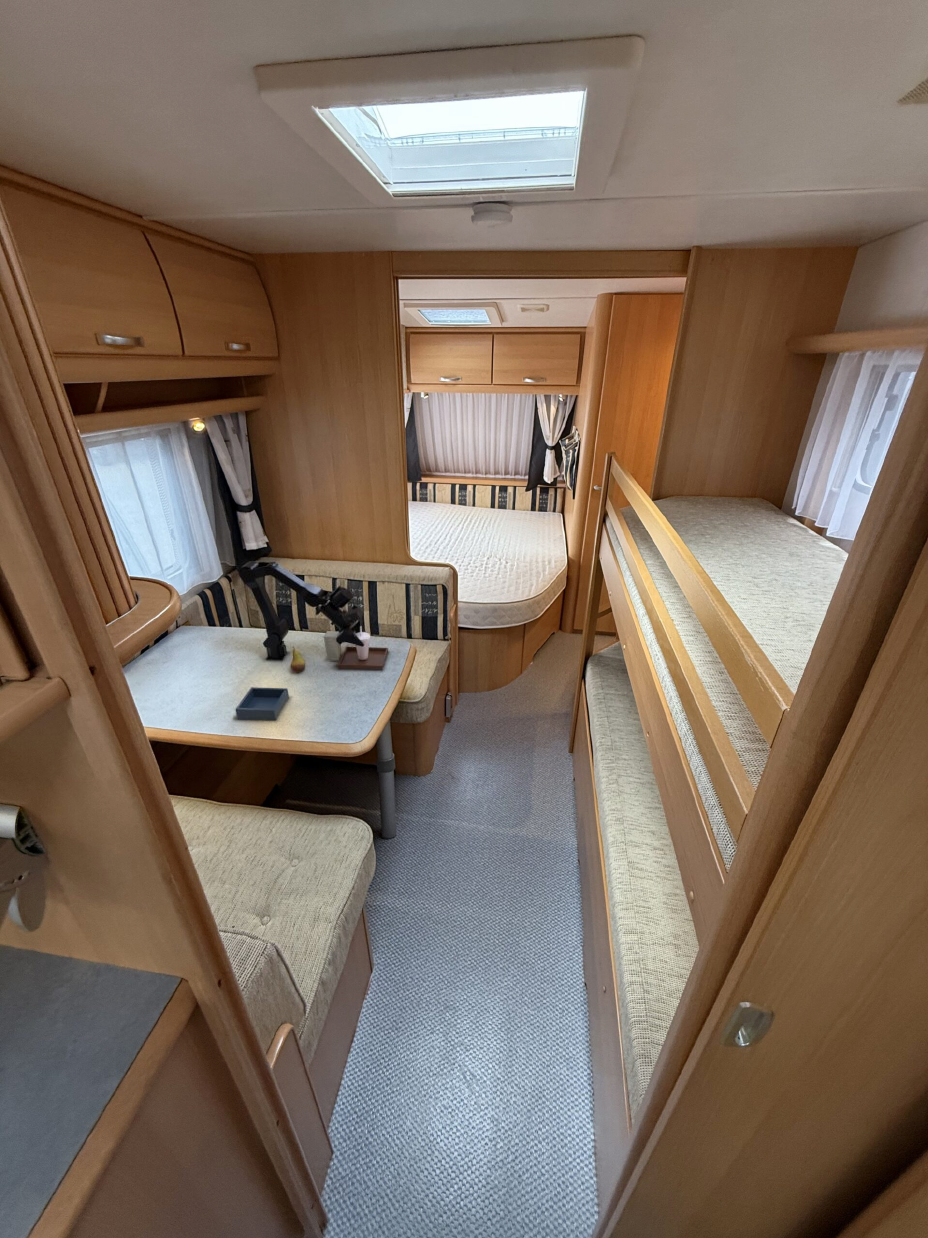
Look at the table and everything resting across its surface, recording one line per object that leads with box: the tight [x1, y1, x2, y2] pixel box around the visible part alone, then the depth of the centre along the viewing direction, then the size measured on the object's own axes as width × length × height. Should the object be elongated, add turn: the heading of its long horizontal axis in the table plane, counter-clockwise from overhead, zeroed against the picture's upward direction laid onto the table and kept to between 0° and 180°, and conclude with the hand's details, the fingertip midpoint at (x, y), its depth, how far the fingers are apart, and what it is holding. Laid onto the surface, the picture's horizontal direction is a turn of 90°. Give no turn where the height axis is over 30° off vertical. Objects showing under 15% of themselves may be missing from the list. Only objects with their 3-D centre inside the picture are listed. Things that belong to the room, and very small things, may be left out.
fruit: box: [290, 646, 306, 673], centre depth 185 cm, size 6×6×12 cm
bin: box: [234, 686, 290, 721], centre depth 165 cm, size 13×13×4 cm
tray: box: [337, 646, 389, 671], centre depth 195 cm, size 17×14×2 cm
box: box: [323, 630, 343, 662], centre depth 194 cm, size 5×4×11 cm
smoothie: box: [355, 626, 371, 660], centre depth 191 cm, size 6×6×14 cm
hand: (365, 641), depth 191 cm, fingers closed on smoothie, 6 cm apart
